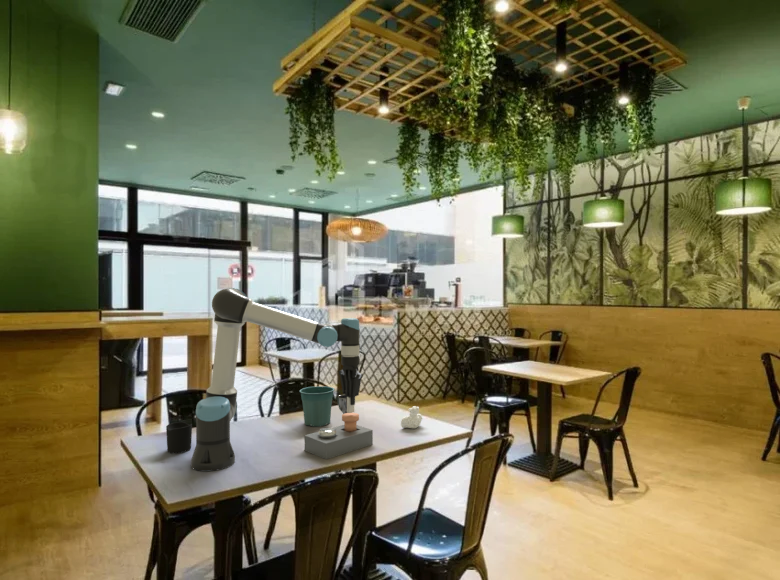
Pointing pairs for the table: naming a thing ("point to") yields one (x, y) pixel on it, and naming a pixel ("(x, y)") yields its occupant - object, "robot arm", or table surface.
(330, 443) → the press console
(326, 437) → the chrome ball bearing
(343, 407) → the wine glass
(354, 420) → the peach rounded piece
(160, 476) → the table surface
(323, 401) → the flower pot
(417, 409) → the bust
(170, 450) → the pen holder
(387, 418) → the table surface
